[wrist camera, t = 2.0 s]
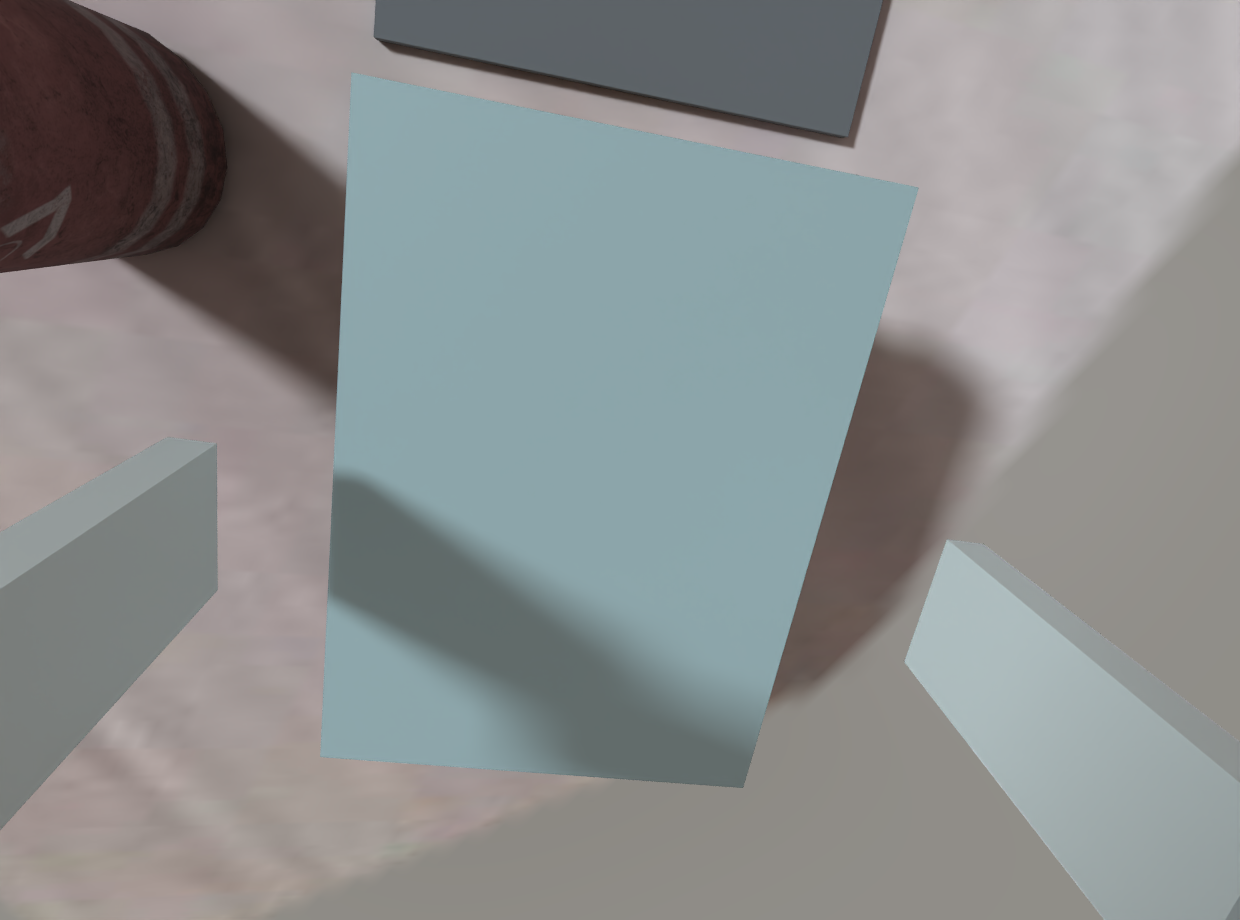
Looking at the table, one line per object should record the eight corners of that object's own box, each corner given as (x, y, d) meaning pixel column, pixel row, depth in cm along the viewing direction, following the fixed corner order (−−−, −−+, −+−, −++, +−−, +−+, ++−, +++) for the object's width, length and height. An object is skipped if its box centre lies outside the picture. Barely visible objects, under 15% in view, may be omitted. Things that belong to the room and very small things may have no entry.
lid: (414, 112, 17) (351, 72, 12) (815, 192, 18) (918, 187, 13) (377, 622, 21) (320, 756, 16) (700, 654, 23) (743, 788, 17)
